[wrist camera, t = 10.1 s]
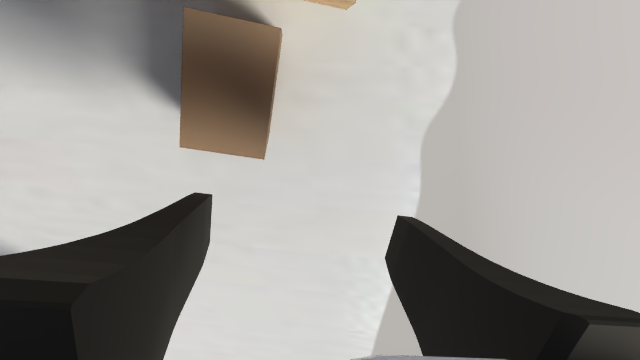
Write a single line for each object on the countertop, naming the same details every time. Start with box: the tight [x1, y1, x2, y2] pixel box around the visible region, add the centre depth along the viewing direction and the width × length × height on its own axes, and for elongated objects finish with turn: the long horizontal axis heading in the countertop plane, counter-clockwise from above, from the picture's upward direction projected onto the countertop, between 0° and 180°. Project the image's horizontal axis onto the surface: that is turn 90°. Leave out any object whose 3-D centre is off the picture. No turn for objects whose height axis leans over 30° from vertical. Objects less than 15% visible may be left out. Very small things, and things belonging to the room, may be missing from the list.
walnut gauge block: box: [180, 7, 282, 159], centre depth 16 cm, size 6×4×5 cm, turn 169°
